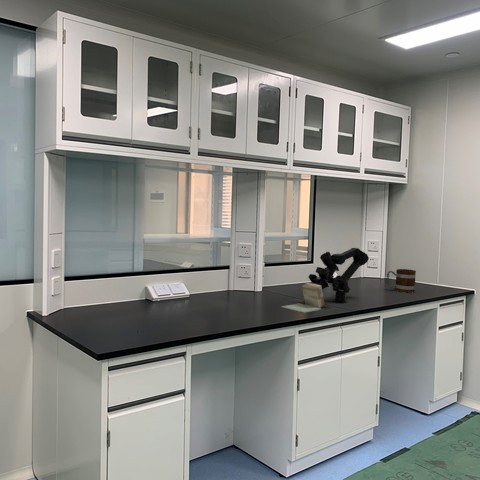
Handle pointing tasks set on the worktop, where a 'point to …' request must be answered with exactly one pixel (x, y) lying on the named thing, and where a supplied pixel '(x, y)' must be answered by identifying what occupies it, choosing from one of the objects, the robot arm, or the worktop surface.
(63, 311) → the worktop surface
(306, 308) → the mat
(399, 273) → the mug
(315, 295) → the birch block
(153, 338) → the worktop surface
